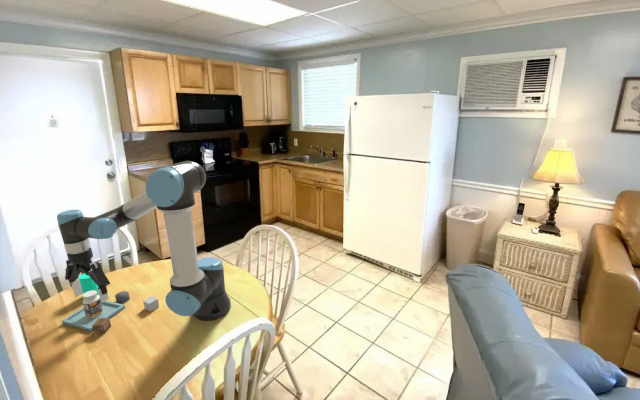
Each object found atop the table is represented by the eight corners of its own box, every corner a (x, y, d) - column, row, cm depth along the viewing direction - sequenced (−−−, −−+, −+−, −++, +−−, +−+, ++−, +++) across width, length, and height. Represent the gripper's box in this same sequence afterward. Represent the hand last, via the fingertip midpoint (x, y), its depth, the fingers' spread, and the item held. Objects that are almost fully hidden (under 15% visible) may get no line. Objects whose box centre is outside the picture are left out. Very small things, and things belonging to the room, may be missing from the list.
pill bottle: (94, 319, 124) (89, 298, 121) (82, 317, 125) (77, 296, 122) (106, 310, 129) (101, 290, 126) (94, 309, 130) (89, 288, 127)
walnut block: (111, 326, 121) (109, 317, 120) (105, 333, 118) (103, 325, 116) (100, 326, 121) (98, 318, 120) (94, 334, 117) (91, 325, 116)
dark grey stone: (132, 297, 139) (131, 292, 138) (122, 304, 134) (121, 298, 133) (123, 295, 140) (122, 290, 139) (113, 302, 135) (112, 296, 135)
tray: (125, 307, 132) (124, 304, 132) (91, 331, 118) (91, 328, 118) (98, 301, 136) (97, 298, 135) (62, 323, 122) (61, 320, 122)
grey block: (159, 306, 133) (157, 299, 132) (150, 312, 130) (148, 303, 129) (153, 303, 135) (152, 295, 134) (144, 308, 132) (143, 300, 131)
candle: (96, 290, 144) (90, 267, 140) (102, 294, 141) (97, 270, 137) (81, 296, 139) (75, 273, 135) (87, 301, 136) (81, 277, 132)
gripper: (113, 249, 118) (124, 297, 124) (64, 242, 125) (77, 287, 131) (94, 258, 111) (107, 308, 118) (44, 250, 118) (59, 298, 124)
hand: (91, 297), depth 124 cm, fingers open, 13 cm apart
